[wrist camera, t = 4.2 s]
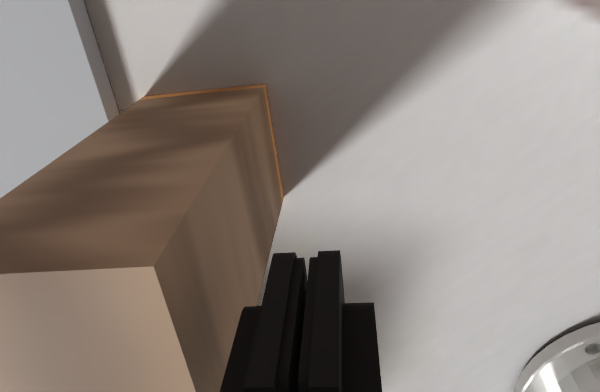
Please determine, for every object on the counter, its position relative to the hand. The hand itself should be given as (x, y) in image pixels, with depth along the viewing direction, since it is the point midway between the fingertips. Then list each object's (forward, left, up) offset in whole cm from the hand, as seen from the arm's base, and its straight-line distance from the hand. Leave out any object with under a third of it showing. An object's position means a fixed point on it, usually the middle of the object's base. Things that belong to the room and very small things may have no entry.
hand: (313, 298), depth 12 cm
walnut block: (+6, 0, -12) cm, 13 cm away
